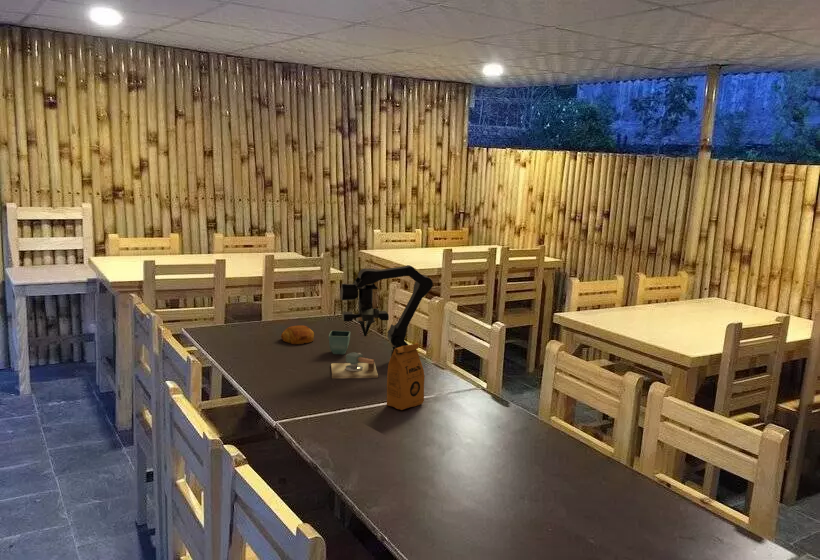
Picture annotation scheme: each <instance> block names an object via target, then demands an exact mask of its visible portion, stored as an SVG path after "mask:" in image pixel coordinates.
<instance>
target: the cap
mask: <svg viewBox="0 0 820 560" xmlns="http://www.w3.org/2000/svg"><path fill="white" fill-rule="evenodd" d="M345 363H352V364H357V363H369V364H373V363H375V359H372V358H367V357H364V355H363V353H361V352H355V351H354V352H353V351H352V352H349V353H347V354H345Z"/></svg>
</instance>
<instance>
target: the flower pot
mask: <svg viewBox="0 0 820 560" xmlns="http://www.w3.org/2000/svg"><path fill="white" fill-rule="evenodd" d="M350 341H351V331H349V330H348V331H347V330H331V331H330V332H329V334H328V343H329V344H328V345H329V349H330V351H331V353H332V354H333V355H346V352H347V350H348V348H349V345H350Z"/></svg>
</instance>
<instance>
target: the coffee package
mask: <svg viewBox="0 0 820 560" xmlns="http://www.w3.org/2000/svg"><path fill="white" fill-rule="evenodd" d="M419 347H420V346H419V343H418V342H417V343H412V344H411V343H410V344H408V345H406V346H401V347H398V348H395V349H394V352H393V354H392V356H391V355H390V358H389V361H388V365H387V374H386V375H387V377H386V405H387V406H388V407H393V408H395V410H396V409H397V410H400V411H403V410H406V409H409V408H414V407H418V406H420V405H423V403H424V402H425V370H424V367H423V363H422V361H421V359H420V355H419V352H418V349H419Z"/></svg>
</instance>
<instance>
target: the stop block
mask: <svg viewBox="0 0 820 560" xmlns="http://www.w3.org/2000/svg"><path fill="white" fill-rule="evenodd" d="M374 363H375V362H374ZM374 363H373V364H368V371H374Z"/></svg>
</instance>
